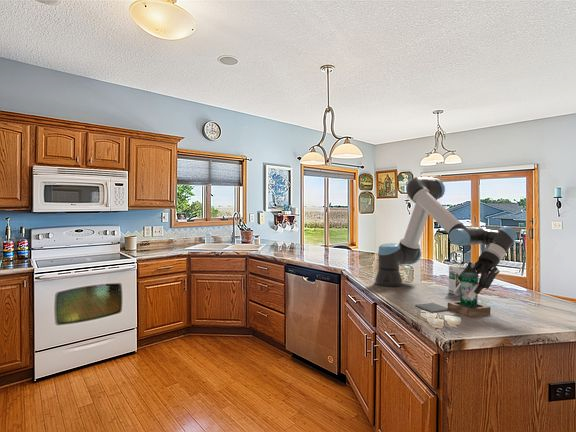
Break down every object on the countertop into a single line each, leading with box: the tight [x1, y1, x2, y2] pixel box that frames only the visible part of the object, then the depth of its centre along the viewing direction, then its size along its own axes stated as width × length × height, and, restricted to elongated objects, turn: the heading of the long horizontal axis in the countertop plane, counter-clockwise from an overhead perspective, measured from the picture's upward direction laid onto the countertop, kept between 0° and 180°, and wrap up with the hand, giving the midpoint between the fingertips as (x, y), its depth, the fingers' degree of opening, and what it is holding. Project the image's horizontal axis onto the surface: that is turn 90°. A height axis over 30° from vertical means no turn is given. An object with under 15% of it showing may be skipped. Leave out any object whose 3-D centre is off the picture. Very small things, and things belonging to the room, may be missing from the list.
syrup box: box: [448, 264, 467, 296], centre depth 170 cm, size 6×6×14 cm
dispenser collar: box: [447, 300, 491, 318], centre depth 140 cm, size 11×11×3 cm
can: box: [459, 272, 479, 308], centre depth 140 cm, size 6×6×15 cm
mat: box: [414, 302, 451, 314], centre depth 145 cm, size 10×10×1 cm
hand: (462, 296), depth 139 cm, fingers closed on can, 6 cm apart
